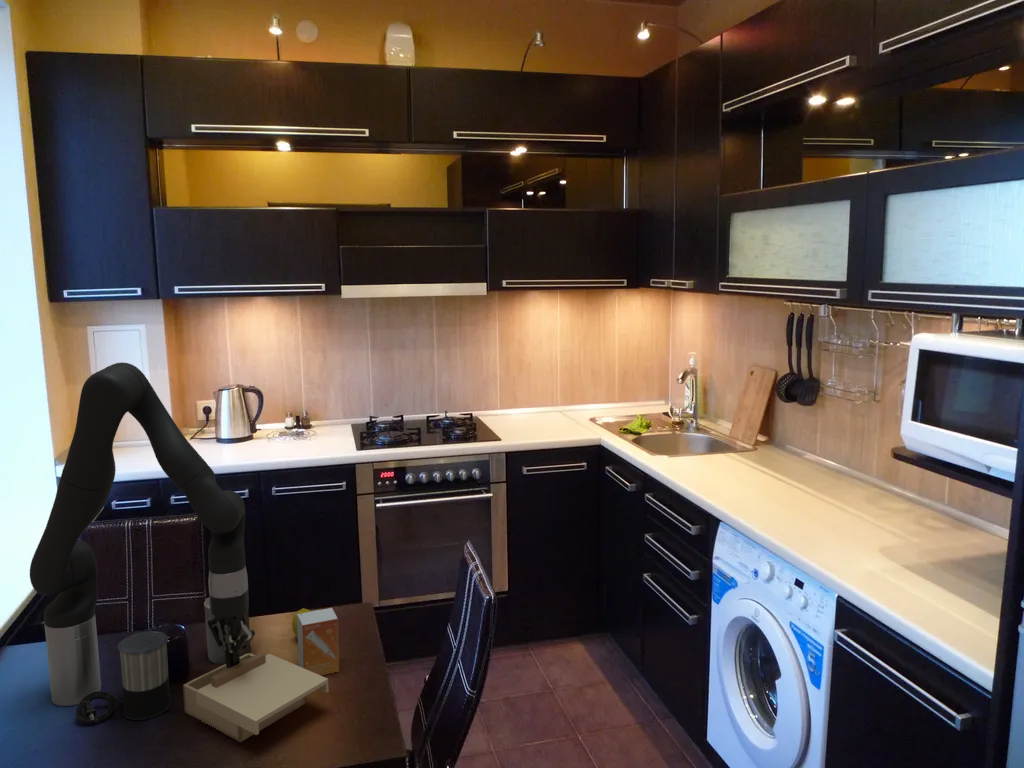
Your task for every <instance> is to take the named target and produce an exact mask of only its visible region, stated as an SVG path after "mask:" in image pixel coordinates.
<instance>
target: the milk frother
mask: <svg viewBox="0 0 1024 768" xmlns="http://www.w3.org/2000/svg"><path fill="white" fill-rule="evenodd" d="M168 639H169V638H168V636H167V634H165V633H164V632H161V631H154V630H153V631H151V630H150V631H143V632H138V633H134V634H132V635H129V636H127V637H125V638H124V639H123V640H121V641H120V642H119V643H118V644H117V650H118V651H119V657H120V658H119V659H120V668H121V669H120V671H121V683H122V696H123V698H122V699H123V700H121V699H120V698H118V697H117V696H115V695H113V694H112V693H109V692H106V691H104V690H103V691H102V690H101V691H97V692H93V693H90V694H88V695H87V696H85V697H84V698H83V699H82V700H81V702H80V703H79V704H77V708H76V709H75V716H76V718H77V720H78V721H79V722H80V723H83V724H87V725H88V724H89V725H92V724H98V723H101V722H104V721H105V720H107V719H109V718H110V717H111V716H112V715H113V714H114V711H115V710H116V706H117V705H116V704H117V702H119V703H120V704H122V705H123V709H122V716H123V717H124V718H125V719H128V720H131V721H144V720H150V719H153V718H157V717H158V716H160V715H162V714H163V713H165V712H167V711H168V710H169V709H170V707H171V706H172V702H173V701H172V698H171V691H170V685H169V684H170V680H169V663H168V661H169V660H168V647H167V641H168ZM98 699H99V700H104V701H106V702H107V703H108V706H109V707H108V708H107V710H106V711H105V712H103V714H100V715H98V716H97V709H95V708H94V707H93V705H92V704H91V702H93V701H94V700H98ZM116 701H117V702H116Z"/></svg>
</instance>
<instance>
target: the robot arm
mask: <svg viewBox="0 0 1024 768" xmlns="http://www.w3.org/2000/svg"><path fill="white" fill-rule="evenodd" d="M127 413H129V414H130V415H131V416H132V417H133V418H134V419H135V420H136V421H137V422H138V423H139V425H140V427H142V429H143V431H144V432H145V434H146V436H147V439H148V440H149V442H150V445H151V448H152V450H153V453H154V456H155V458H156V461H157V463H158V465H159V466H160V468H161V469H162V471H163V472H164V473H165V475H166V476H167V477H168V478H169V479H170V480H171V482H173V484H174V485H175V486H176V487H177V488H178V489H179V490H180V491H181V492H182V493H183V494H184V496H185V497H186V499H187V501H188V503H189V505H190V506H191V508H192V510H193V511H194V514H196V516H197V518H198V519H199V521H200V522H201V524H202V525H203V526H204V527H206V528H207V529H208V530H209V531H210V534H211V535H210V536H211V537H210V542H209V545H208V551H207V553H208V554H207V555H208V559H207V561H208V593H209V594H208V596H209V597H208V598H209V599H210V612H211V614H212V615H213V616H214V617H215V618H213V619H211V620H209V621H208V626H209V628H210V630H211V632H212V634H213V636H214V638H215V640H216V642H217V645H218V646H219V647H220V646H222V647H223V651H224V652H225V659H226V667H227V668H228V669H229V668H231V667H233V666H235V665H237V664H239V663H240V655H239V652H240V651H242V650H244V649H246V648H247V646H248V645H249V643H250V644H251V642H252V640H253V638H254V636H255V635H256V633H255V630H253V629H251V630H250V631H249V629H248V628H247V627H246V624H247V621H246V618H245V612H246V611H247V609H248V610H249V607H250V601H249V582H248V580H249V579H248V572H247V567H246V553H245V552H246V551H245V531H246V530H245V528H246V527H245V526H246V506H245V502H244V499H243V497H241V495H240V494H238V493H237V492H236V491H233V490H229V489H228V490H222V488H221V487H220V486H219V484H218V482H217V481H216V473H215V472H214V471H213V469H212V468H211V466H210V465H209V464H208V463H207V462H206V460H205V459H204V458H203V457H202V456H201V455H200V454H199V452H198V451H197V450H196V449H195V448H194V447H193V445H192V444H191V443H190V441H189V440H188V439H187V438H186V437H185V435H184V434H183V433H182V431H181V430H180V427H179V426H177V424H176V422H175V421H174V419H173V418H172V416H171V414H170V413H169V412H168V411H167V408H166V407H165V404H164V403H163V402H162V400H161V399H160V397H159V396H158V394H157V392H156V391H155V389H154V387H153V385H152V384H151V382H150V381H149V379H148V378H147V377H146V375H145V374H144V373H143V372H142V370H141V369H139V368H138V367H137V366H135V365H133V364H131V363H128V362H116V363H112V364H110V365H108V366H106V367H104V368H103V369H101V370H98V371H96V372H95V373H92V374H91V375H90V376H89V377H88V378H87V379H86V380H85V381H84V383H83V385H82V388H81V391H80V396H79V403H78V409H77V416H76V424H75V428H74V432H73V436H72V439H71V441H70V447H69V449H68V453H67V456H66V460H65V462H64V466H63V469H62V471H61V475H60V478H59V482H58V486H57V490H56V493H55V498H54V501H53V505H52V507H51V510H50V513H49V516H48V519H47V521H46V522H47V523H46V526H45V529H44V530H43V532H42V536H41V538H40V540H39V543H38V545H37V548H36V549H35V551H34V554H33V556H32V558H31V562H30V566H29V579H30V584H31V586H32V588H33V590H34V591H35V592H36V593H38V594H39V595H42V596H45V597H49V596H56V595H57V596H56V597H55V598H54V599H53V600H52V601H51V602H50V604H49V605H48V606H46V608H45V610H44V612H43V622H44V623H43V624H44V631H45V632H44V634H45V644H46V653H47V654H46V655H47V665H48V673H49V674H48V675H49V686H50V696H51V703H52V704H53V705H56V706H60V707H68V706H76V705H78V704H79V703H80V702H81V700H82V699H83V698H84V697H85V696H87V695H88V694H90V693H93V692H97V691H102V681H101V669H100V660H99V659H100V658H99V644H98V634H97V633H98V631H97V622H96V612H95V611H96V609H95V608H96V605H97V602H98V596H99V594H98V565H97V564H98V563H97V559H96V555H95V553H94V551H93V549H92V547H91V546H90V545H89V544H88V543H87V542H86V541H83V540H81V539H79V538H80V537H81V536H82V535H83V533H84V532H85V531H86V530H87V528H88V527H89V526H90V525H91V524H92V522H93V521H94V520H95V519H96V518H97V516H98V515H99V514H100V512H101V511H102V510H103V509H104V507H105V506H106V504H107V501H108V499H109V497H110V494H111V492H112V488H113V484H114V481H115V478H116V461H115V457H114V451H113V449H114V448H113V447H114V446H113V445H114V441H115V437H116V434H117V432H118V429H119V427H120V425H121V422H122V419H123V418H124V416H125V415H126V414H127Z"/></svg>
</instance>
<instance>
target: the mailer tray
mask: <svg viewBox="0 0 1024 768" xmlns="http://www.w3.org/2000/svg"><path fill="white" fill-rule="evenodd" d="M253 656H255V654H253V653H252V652H251V653H247V654H245V655H243V656H241V657H240V663H241V662H243V661H245V660H247V659H249V658H251V657H253ZM227 669H228V668H227V667H226V664H222V665H221V666H219V667H217V668H214V669H213V670H210V671H208V672H207V673H205V674H202V675H200V676H199V677H197V678H193V679H192V680H190V681H188V682H186V683H184V684H182V691H183V706H184V707H183V709H184V713H185V714H188V715H189V716H190V717H192V718H194V717H195V718H194V719H196V718H197V719H196V720H198V719H199V720H198V721H200V720H201V721H200V722H202V723H203V724H205V725H207V724H208V726H209V725H210V726H209V727H211V726H212V728H213V727H214V728H213V729H215V728H216V729H215V730H217V731H218V730H219V732H220V731H221V733H222V732H223V733H222V734H225V735H226V736H228V737H229V738H231V739H233V740H235V741H237V742H239V743H242V742H243V741H245V740H246V739H249V738H250V737H251V736H253V735H254V734H253V733H251V732H250V731H248V730H246V729H244V728H242V727H240V726H238V725H236V724H234V723H232V722H230V721H229V720H227V719H225V718H223V717H221V716H219V715H217V714H215V713H213V712H211V711H209V710H208V709H206V708H204V707H202V706H200V705H198V704H197V700H196V690H198V689H200V688H202V687H204V686H206V685H208V684H210V683H211V677H213V676H215V675H217V674H219V673H221V672H223V671H225V670H227ZM305 704H306V696H304V697H303V698H301V699H299V700H298V701H296V702H294V703H293V704H291V705H289V706H288V707H286V708H284V709H282V710H281V711H279V712H277V713H276V714H274V715H272V716H271V717H269V718H267V719H265V720H264V721H262V722H260V723H259V732H260V731H262V730H263V729H266V728H267V727H268V726H270V725H272V724H273V723H275V722H277V721H278V720H280V719H282V718H284V717H286V715H289V714H291V713H292V712H293V711H295V710H297V709H299V708H300V707H302V706H303V705H305ZM301 705H302V706H301Z"/></svg>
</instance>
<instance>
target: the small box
mask: <svg viewBox="0 0 1024 768" xmlns="http://www.w3.org/2000/svg"><path fill="white" fill-rule="evenodd" d="M310 611H311V612H306V613H301V614H297V633H298V637H297V657H298V661H297V662H298V666H299V667H302V668H304V669H306V670H309V671H311V672H313V673H316V674H318V675H320V676H325V675H329V674H330V673H331V674H335V672H337V673H339V672H340V652H339V650H340V647H339V618H338V617H337V615H336V612H335V611H334V609H333V607H329V608H328V607H327V608H324V609H323V608H322V609H316V610H310Z"/></svg>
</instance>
